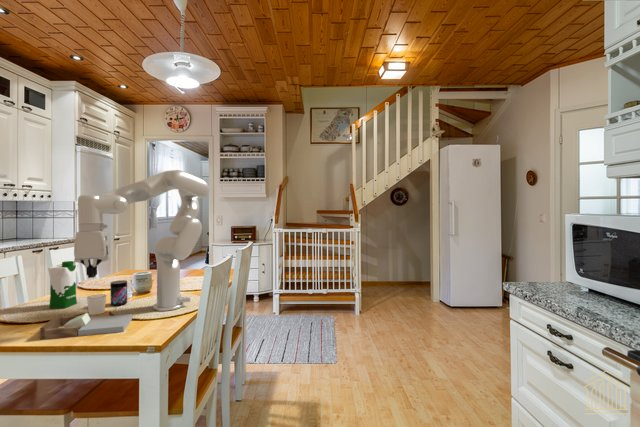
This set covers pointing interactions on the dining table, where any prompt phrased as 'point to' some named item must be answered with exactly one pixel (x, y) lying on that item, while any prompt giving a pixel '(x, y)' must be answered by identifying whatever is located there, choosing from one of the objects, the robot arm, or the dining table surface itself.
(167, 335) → the dining table surface
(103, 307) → the white cup
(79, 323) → the off-white flat block
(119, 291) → the supplement container
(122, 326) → the plate
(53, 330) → the box
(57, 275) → the milk carton
